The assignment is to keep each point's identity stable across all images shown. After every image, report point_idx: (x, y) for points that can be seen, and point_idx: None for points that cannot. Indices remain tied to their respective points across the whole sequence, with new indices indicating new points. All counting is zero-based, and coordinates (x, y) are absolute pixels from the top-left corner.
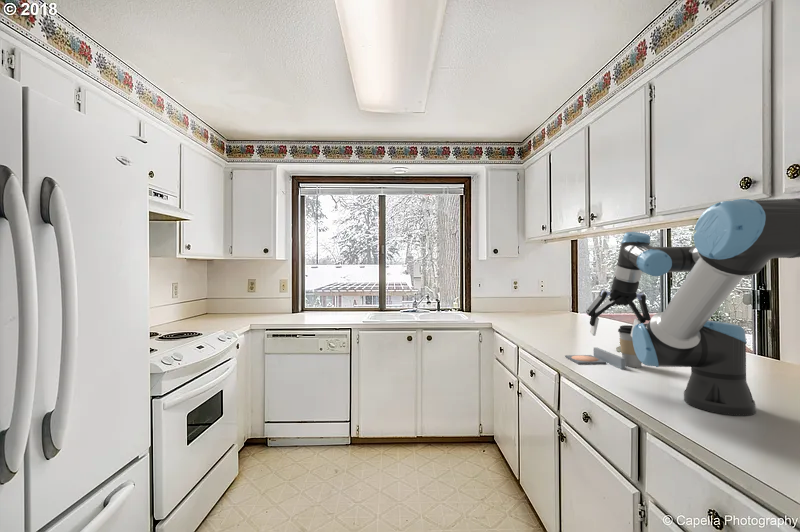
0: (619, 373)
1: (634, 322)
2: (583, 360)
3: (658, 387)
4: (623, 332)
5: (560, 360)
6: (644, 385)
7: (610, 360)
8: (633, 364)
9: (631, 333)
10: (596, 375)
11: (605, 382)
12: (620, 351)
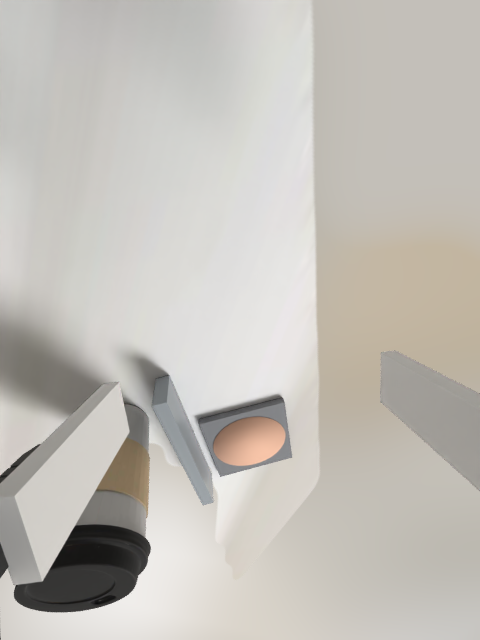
0: (189, 327)
1: (65, 522)
2: (262, 421)
3: (86, 146)
4: (132, 534)
5: (315, 422)
6: (140, 172)
7: (187, 428)
8: None
9: (120, 437)
10: (276, 287)
11: (281, 195)
12: None
